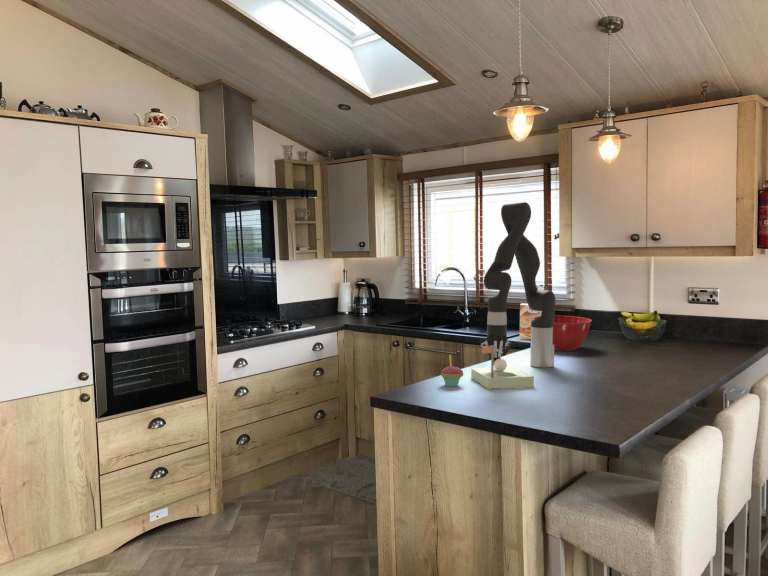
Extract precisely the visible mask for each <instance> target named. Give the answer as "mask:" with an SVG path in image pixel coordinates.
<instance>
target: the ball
mask: <svg viewBox="0 0 768 576" xmlns="http://www.w3.org/2000/svg"><path fill="white" fill-rule="evenodd" d="M493 367H494V368H495V369H496V370H497V371H500V372H501V371H504V370H505V369H506V367H508V363H507V361H506V360H505V359H504V358H501V359H497V360H496V361H495V362H494V365H493Z"/></svg>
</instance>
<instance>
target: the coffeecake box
mask: <svg viewBox="0 0 768 576" xmlns="http://www.w3.org/2000/svg"><path fill="white" fill-rule="evenodd" d="M541 313H542V311H535V310H531V309H530V308H529V306H528V303H520V306H519V340H530V339H531V321H532V320H533V318H534V317H538V316H541Z"/></svg>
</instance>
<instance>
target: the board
mask: <svg viewBox="0 0 768 576" xmlns="http://www.w3.org/2000/svg"><path fill="white" fill-rule="evenodd" d="M487 353H491V356H490V357H491V358H490V359H491V363H490V367H471V369H470V372H471V373H470V375H471V377H470V378H471V379H472V380H473V379H474V380H473V381H475V382H476V381H477V382H476V383H477V384H479V383H480V384H479V385H481V386H482V385H483V387H484V388H485V387H486V389H487V390H493V389H492V388H502V389H513V388H512V387H523V388H534V387H535V378H534V377H535V376H534V375H532V374H531V373H528V372H526V371H524V370H522V369H521V368H518V367H516V366H507V367H506V369H505V370H504V371H501V372H500V371H497V370H496V369H495V368H494V365H493V363H494V345H492V346H489V345H488V346H481V354H487Z"/></svg>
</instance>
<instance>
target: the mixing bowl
mask: <svg viewBox="0 0 768 576" xmlns="http://www.w3.org/2000/svg"><path fill="white" fill-rule="evenodd" d="M539 317H540V316H538V317H534V318H533V319H536V318H539ZM591 322H592V319H591V318H587V317H581V316H574V315H554V321H553V341H552V344H553V345H554V352H556V351H557V352H572V351H571V350H573V351H576V350H577V349H579V347H581V346H582V345H583V342H585V340H586V337H587V335H588V333H589V330H590V327H591Z"/></svg>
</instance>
